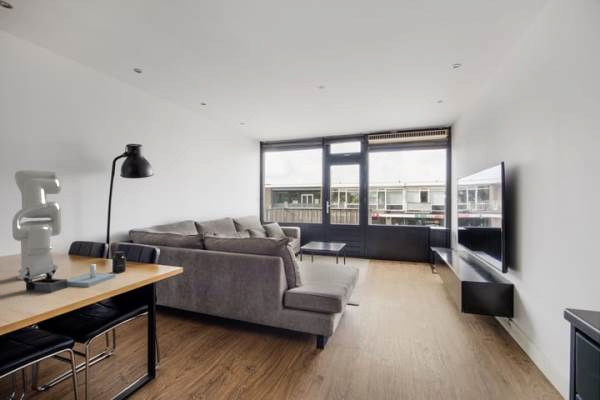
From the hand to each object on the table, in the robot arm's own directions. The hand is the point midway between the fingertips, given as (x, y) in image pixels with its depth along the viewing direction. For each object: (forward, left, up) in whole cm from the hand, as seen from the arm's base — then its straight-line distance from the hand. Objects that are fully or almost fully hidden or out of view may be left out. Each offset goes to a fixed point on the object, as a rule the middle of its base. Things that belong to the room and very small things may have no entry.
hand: (39, 286), depth 130 cm
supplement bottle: (+14, +32, -1) cm, 35 cm away
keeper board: (+13, +14, -1) cm, 19 cm away
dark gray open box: (+4, 0, -1) cm, 5 cm away
